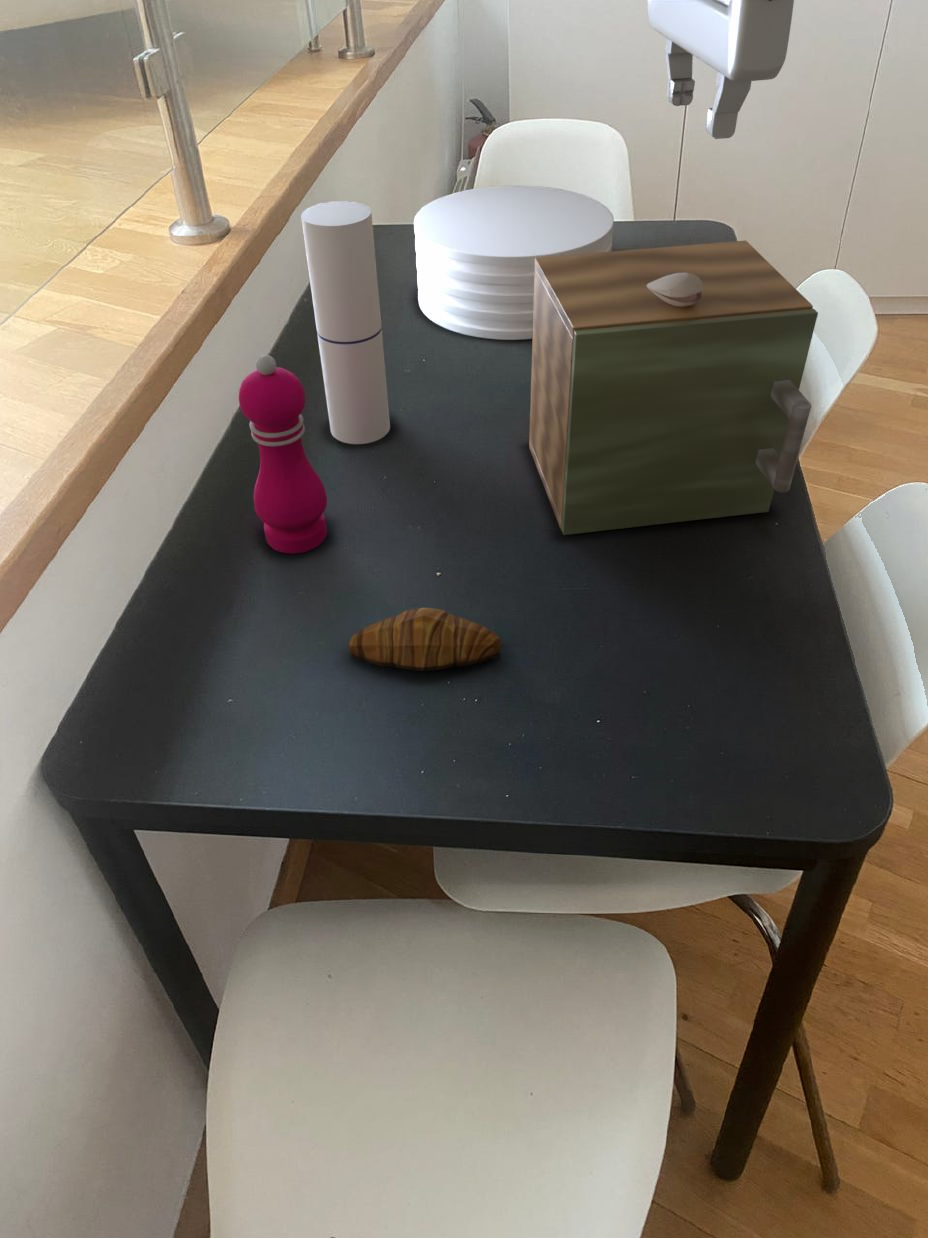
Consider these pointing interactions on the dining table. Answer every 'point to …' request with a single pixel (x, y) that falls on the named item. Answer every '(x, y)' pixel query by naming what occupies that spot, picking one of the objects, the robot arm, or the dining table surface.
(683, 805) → the dining table surface
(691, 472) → the cupboard door
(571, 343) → the cupboard
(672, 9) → the robot arm
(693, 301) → the clam shell
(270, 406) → the pepper mill
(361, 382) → the cylindrical container
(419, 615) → the croissant
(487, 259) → the plate stack
